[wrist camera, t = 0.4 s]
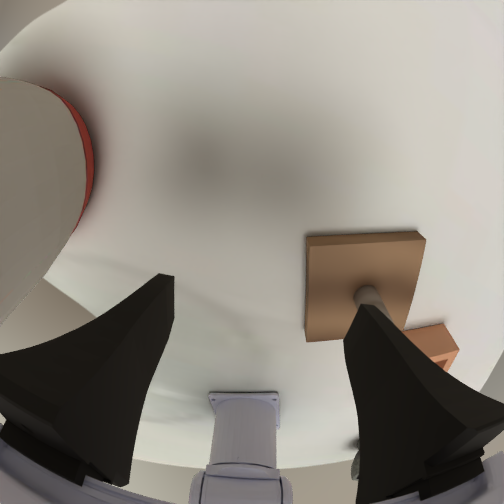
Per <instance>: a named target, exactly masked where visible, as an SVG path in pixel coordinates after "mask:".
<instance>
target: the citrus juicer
mask: <svg viewBox="0 0 504 504" xmlns="http://www.w3.org/2000/svg"><path fill="white" fill-rule="evenodd" d="M93 175H94V156H93V150H92V144H91V139H90V137H89V133H88V130H87V127H86V125H85V123H84V122H83V120H82V118H81V116H80V114H79V113H78V112H77V111H76V110H75V108H74V107H73V106H72V105H71V104H70V103H68V102H67V101H66V100H65V99H63V98H62V97H60V96H59V95H58V94H56V93H55V92H53V91H52V90H50V89H47V88H44V87H41V86H37V85H34V84H31V83H28V82H25V81H21V80H16V79H11V78H6V77H0V326H1V325H2V324H3V322H4V321H5V320H6V319H7V318H8V316H9V315H10V314H11V313H12V312H13V311H14V310H15V308H16V307H17V306H18V305H19V304H20V303H21V302H22V301H23V299H24V298H25V297H26V296H27V295H28V294H29V293H30V292H31V291H32V289H33V288H34V287H35V286H36V285H37V283H38V282H39V281H40V280H41V279H42V277H43V276H44V275H45V274H46V273H47V271H48V270H49V268H50V267H51V265H52V264H53V262H54V261H55V259H56V258H57V256H58V255H59V253H60V252H61V250H62V249H63V247H64V246H65V244H66V243H67V241H68V239H69V237H70V236H71V234H72V233H73V232H74V230H75V229H76V227H77V225H78V223H79V221H80V218H81V216H82V214H83V212H84V209H85V207H86V205H87V202H88V200H89V196H90V192H91V189H92V184H93Z"/></svg>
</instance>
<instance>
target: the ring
mask: <svg viewBox="0 0 504 504" xmlns="http://www.w3.org/2000/svg"><path fill="white" fill-rule="evenodd" d="M401 332H402V333H403V334H404V335H405V336H406V337H407V338H408V339H409V340H410V341H412V342H413V343H414V344H415V345H416V346H417V347H418V348H419V349H420V350H421V351H422V352H423V353H424V354H425V355H426V356H427V357H429V358H430V359H431V360H432V361H433V362H435V363H436V364H437V365H438V366H440V367H441V368H442V369H443V370H445V371H446V372H447V371H448V370H449V368H450V366H451V364H452V363H453V361H454V359H455V357H456V355H457V353H458V352H459V348H458V346H457V344H456V343H455V341H454V339H453V338H452V336H451V335H450V333H449V331H448V330H447V328H446V326H445V325H444V323H443V324H439V325H434V326H429V327H424V328H418V329H413V330H407V331H401Z"/></svg>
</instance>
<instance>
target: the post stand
mask: <svg viewBox="0 0 504 504" xmlns="http://www.w3.org/2000/svg"><path fill="white" fill-rule="evenodd" d="M425 244H426V239H425V238H424V237H423V236H422V235H421V234H420V233H419V232H418V231H414V232H392V233H371V234H351V235H332V236H314V237H306V308H305V336H306V342H317V341H328V340H338V339H344V338H345V336H346V334H347V332H348V330H349V328H350V326H351V324H352V321H353V319H354V317H355V315H356V313H357V311H358V309H359V306H360V304H369V305H375V306H376V307H377V308H378V309H379V310H380V311H381V312H383V313H384V314H385V315H386V316H387V317H388V318H389V319H390V320H391V321H392V322H393V323H394V324H395V325H396V326H397V327H398V328H399V329H400V330H401V331H403V329H404V326H405V323H406V320H407V316H408V313H409V310H410V306H411V303H412V299H413V296H414V292H415V288H416V284H417V280H418V276H419V272H420V268H421V263H422V259H423V254H424V249H425Z"/></svg>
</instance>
